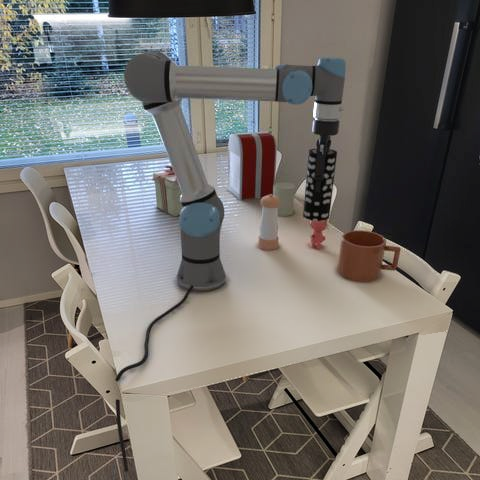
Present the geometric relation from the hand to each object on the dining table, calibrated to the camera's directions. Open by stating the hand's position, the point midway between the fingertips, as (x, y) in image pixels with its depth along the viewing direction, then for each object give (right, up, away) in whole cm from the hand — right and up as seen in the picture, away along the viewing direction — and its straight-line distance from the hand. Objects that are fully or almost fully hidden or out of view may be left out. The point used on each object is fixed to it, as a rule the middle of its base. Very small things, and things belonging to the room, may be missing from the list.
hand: (318, 196), depth 150 cm
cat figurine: (+3, -12, +27) cm, 30 cm away
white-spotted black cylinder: (0, -6, +3) cm, 7 cm away
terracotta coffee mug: (+17, -23, +9) cm, 30 cm away
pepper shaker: (-14, -11, +27) cm, 32 cm away
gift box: (-51, +9, +58) cm, 78 cm away
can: (-6, +8, +58) cm, 58 cm away
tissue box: (-19, +22, +79) cm, 85 cm away
